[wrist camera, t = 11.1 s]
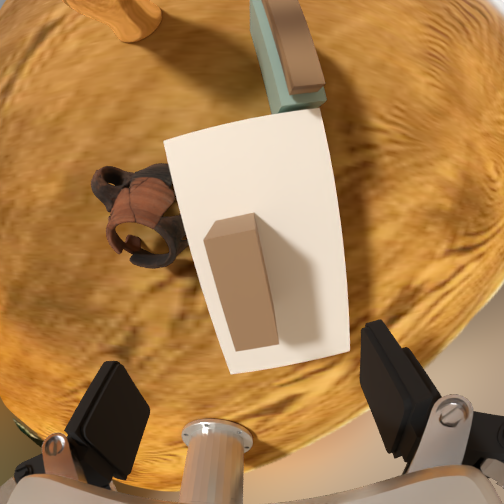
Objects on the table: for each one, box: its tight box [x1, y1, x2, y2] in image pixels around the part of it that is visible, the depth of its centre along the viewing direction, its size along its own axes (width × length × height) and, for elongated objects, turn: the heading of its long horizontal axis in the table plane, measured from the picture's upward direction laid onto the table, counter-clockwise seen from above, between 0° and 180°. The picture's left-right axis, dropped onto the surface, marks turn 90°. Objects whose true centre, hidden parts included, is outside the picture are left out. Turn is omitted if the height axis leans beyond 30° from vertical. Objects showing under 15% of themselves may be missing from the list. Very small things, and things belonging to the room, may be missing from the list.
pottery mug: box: [91, 163, 189, 268], centre depth 26 cm, size 12×10×8 cm
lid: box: [163, 108, 350, 374], centre depth 20 cm, size 22×12×8 cm, turn 12°
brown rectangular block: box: [261, 0, 326, 95], centre depth 15 cm, size 10×2×2 cm, turn 12°
